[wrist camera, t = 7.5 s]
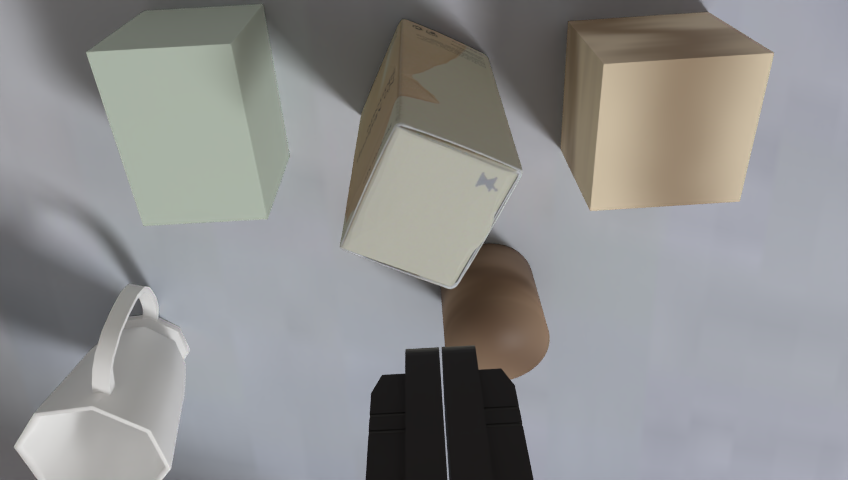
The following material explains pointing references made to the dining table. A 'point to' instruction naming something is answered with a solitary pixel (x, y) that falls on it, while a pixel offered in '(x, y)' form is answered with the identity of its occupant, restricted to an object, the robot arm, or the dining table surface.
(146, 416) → the cup
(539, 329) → the walnut cylinder
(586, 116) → the beech cube
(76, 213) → the dining table surface
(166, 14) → the sage block
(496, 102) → the box
